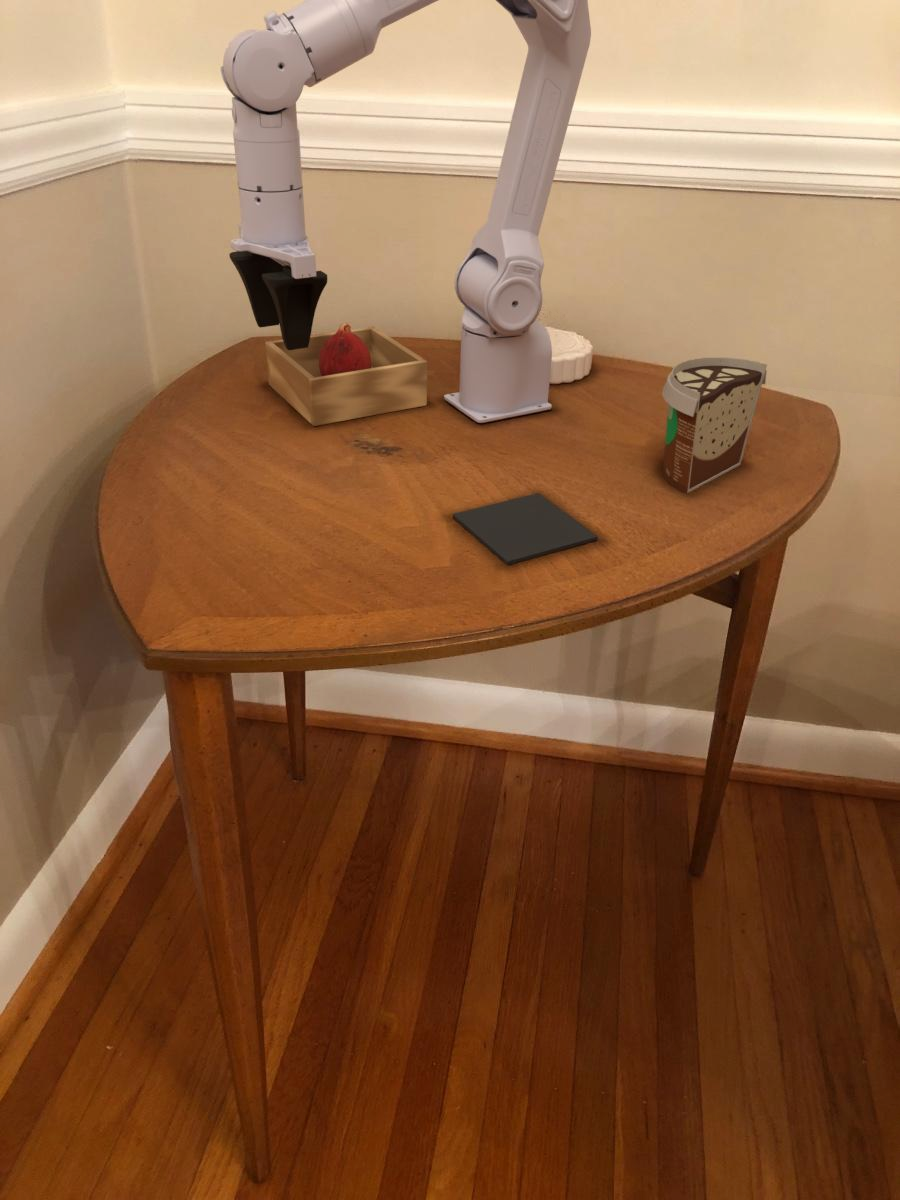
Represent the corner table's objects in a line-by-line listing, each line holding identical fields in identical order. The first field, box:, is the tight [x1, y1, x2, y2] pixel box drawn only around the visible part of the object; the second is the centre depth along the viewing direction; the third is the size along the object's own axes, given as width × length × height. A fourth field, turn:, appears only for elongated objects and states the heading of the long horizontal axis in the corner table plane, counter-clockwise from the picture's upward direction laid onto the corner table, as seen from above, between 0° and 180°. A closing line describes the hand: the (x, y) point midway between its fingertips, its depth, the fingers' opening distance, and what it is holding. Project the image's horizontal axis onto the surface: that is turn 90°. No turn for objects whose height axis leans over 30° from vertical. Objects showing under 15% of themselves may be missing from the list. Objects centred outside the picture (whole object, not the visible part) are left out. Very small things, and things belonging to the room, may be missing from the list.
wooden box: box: [264, 326, 428, 427], centre depth 104 cm, size 13×13×5 cm
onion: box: [319, 322, 372, 376], centre depth 103 cm, size 6×6×8 cm
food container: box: [661, 356, 768, 494], centre depth 89 cm, size 12×6×10 cm, turn 135°
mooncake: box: [544, 326, 594, 385], centre depth 114 cm, size 12×12×4 cm
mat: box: [452, 492, 599, 566], centre depth 81 cm, size 9×9×1 cm
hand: (282, 336), depth 92 cm, fingers open, 7 cm apart
